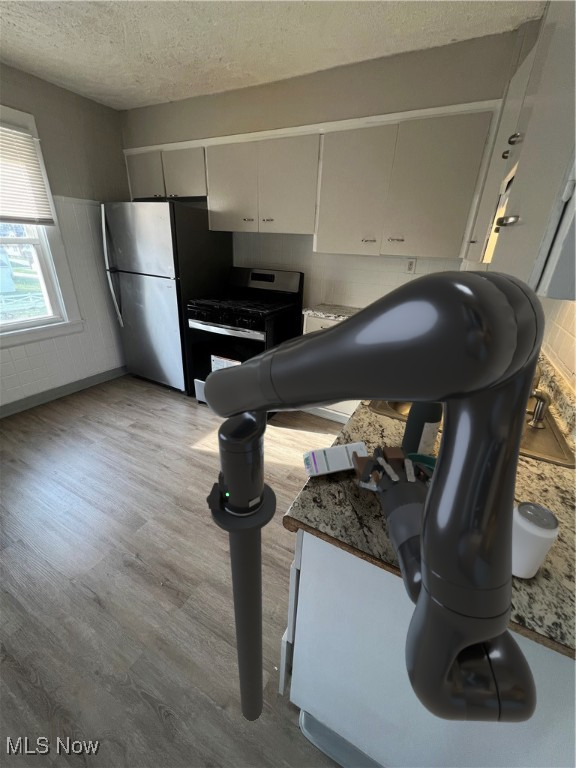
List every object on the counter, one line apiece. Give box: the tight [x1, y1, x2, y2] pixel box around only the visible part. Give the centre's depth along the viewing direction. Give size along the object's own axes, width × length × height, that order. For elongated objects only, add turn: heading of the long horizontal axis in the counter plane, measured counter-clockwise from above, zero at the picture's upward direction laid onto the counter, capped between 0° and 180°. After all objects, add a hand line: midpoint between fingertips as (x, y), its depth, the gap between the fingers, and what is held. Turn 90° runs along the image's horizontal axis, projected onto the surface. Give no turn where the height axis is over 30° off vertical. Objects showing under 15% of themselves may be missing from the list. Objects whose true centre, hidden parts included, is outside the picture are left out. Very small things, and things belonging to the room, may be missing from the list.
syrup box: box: [302, 441, 369, 478], centre depth 76 cm, size 6×6×14 cm
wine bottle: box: [401, 402, 443, 456], centre depth 80 cm, size 8×8×30 cm
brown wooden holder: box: [352, 446, 405, 502], centre depth 63 cm, size 12×8×11 cm
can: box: [512, 501, 560, 579], centre depth 54 cm, size 6×6×12 cm
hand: (387, 450), depth 60 cm, fingers closed on brown wooden holder, 3 cm apart
